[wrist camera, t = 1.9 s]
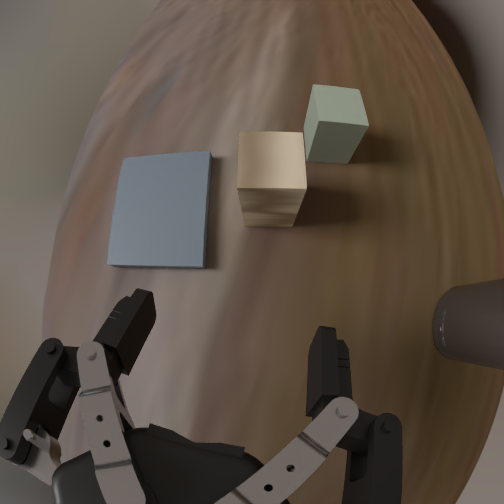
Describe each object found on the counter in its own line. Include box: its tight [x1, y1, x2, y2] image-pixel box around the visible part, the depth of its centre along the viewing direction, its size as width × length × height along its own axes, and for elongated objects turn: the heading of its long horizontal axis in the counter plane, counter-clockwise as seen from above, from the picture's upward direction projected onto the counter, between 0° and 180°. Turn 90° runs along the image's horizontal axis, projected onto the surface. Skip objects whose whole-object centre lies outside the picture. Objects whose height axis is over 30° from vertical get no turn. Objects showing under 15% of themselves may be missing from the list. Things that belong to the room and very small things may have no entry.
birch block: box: [237, 132, 307, 227], centre depth 25 cm, size 5×5×10 cm
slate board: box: [107, 151, 212, 269], centre depth 29 cm, size 11×13×2 cm
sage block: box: [304, 84, 369, 164], centre depth 27 cm, size 5×5×8 cm
